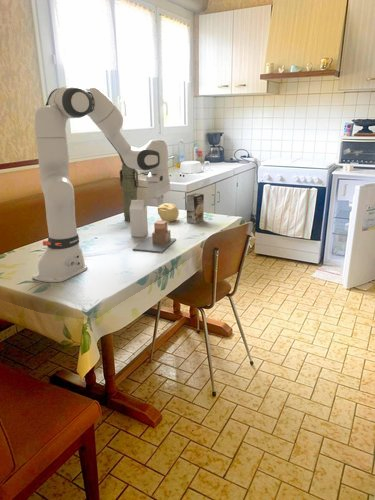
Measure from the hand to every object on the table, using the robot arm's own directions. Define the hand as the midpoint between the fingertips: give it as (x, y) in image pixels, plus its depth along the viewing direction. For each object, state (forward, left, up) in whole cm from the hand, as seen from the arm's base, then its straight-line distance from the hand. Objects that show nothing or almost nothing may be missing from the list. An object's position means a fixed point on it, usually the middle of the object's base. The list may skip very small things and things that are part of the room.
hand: (160, 204), depth 182 cm
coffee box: (+43, -5, -20) cm, 48 cm away
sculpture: (+41, +11, -20) cm, 47 cm away
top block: (0, 0, -14) cm, 14 cm away
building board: (-4, +2, -20) cm, 20 cm away
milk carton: (+9, +16, -20) cm, 27 cm away
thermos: (+37, +34, -20) cm, 54 cm away
